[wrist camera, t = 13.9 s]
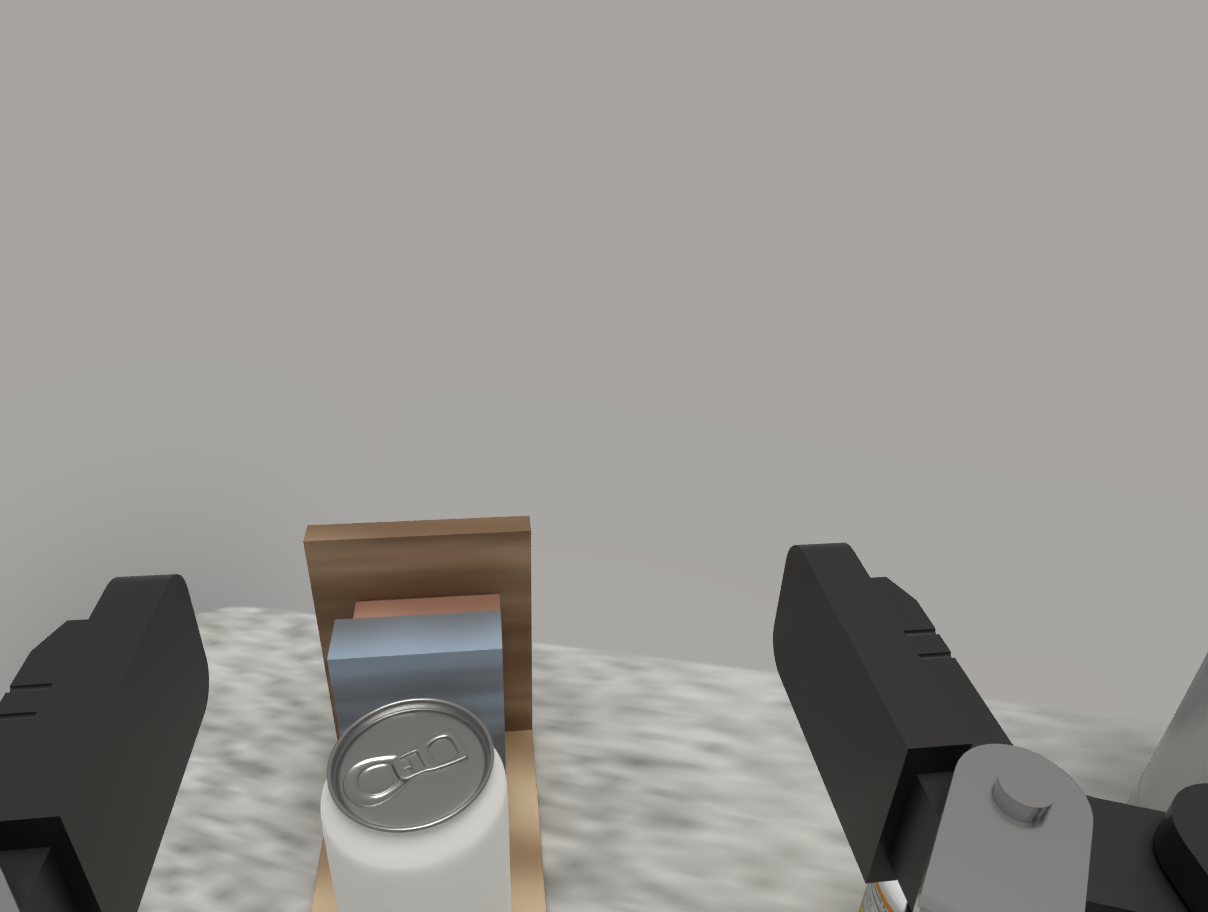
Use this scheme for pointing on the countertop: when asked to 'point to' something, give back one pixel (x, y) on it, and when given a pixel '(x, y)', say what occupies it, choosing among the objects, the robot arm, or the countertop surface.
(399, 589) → the wooden bookend
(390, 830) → the can
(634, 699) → the countertop surface
